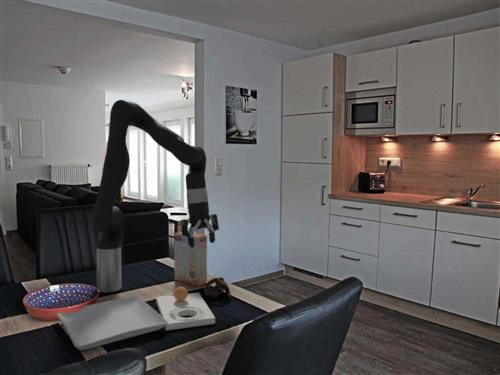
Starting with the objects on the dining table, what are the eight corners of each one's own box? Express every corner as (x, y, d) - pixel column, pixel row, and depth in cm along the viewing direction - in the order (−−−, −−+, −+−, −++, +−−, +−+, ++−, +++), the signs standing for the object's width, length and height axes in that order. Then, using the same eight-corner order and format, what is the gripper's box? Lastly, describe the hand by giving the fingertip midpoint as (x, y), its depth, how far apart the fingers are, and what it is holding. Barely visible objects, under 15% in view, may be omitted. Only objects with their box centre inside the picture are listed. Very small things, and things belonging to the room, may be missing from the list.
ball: (175, 303, 141) (175, 290, 141) (172, 298, 146) (172, 285, 146) (188, 302, 143) (189, 288, 143) (186, 297, 148) (186, 284, 147)
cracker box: (207, 283, 169) (207, 234, 167) (197, 287, 165) (197, 237, 163) (183, 276, 178) (183, 230, 176) (173, 280, 173) (173, 232, 171)
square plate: (56, 322, 130) (55, 311, 130) (137, 304, 146) (137, 294, 146) (76, 358, 108) (75, 344, 108) (169, 332, 124) (169, 320, 124)
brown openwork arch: (231, 302, 150) (221, 285, 148) (209, 311, 152) (199, 294, 150) (234, 284, 161) (225, 268, 159) (214, 292, 163) (204, 276, 161)
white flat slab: (165, 330, 125) (165, 324, 125) (156, 302, 148) (156, 297, 147) (215, 323, 131) (215, 317, 130) (198, 297, 153) (198, 292, 153)
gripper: (208, 198, 152) (212, 240, 153) (175, 203, 143) (180, 247, 144) (219, 198, 146) (224, 242, 147) (185, 203, 138) (190, 250, 138)
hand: (202, 244), depth 146 cm, fingers open, 8 cm apart
